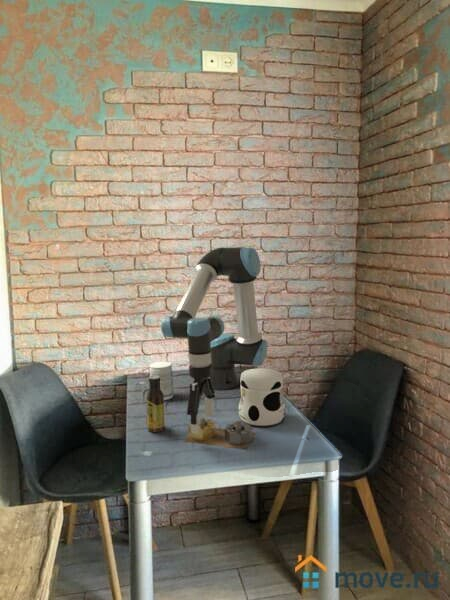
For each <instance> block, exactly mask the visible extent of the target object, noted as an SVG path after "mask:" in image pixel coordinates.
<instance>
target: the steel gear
mask: <svg viewBox="0 0 450 600" xmlns="http://www.w3.org/2000/svg"><path fill="white" fill-rule="evenodd" d="M241 427H242V431H236V426H235V422H234V423H230V424H227V425H226V427H224V430H225V441H226V442H227V443H228V444H230V445H236V446H242V445H246V444H250V442H251V441H252V442H253V440H254V438H253V436H252V433H253V426H251V425H248V424H246V423H245V422H241ZM252 439H253V440H252ZM252 442H251V443H252ZM250 445H251V444H250Z"/></svg>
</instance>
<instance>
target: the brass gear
mask: <svg viewBox="0 0 450 600" xmlns="http://www.w3.org/2000/svg"><path fill="white" fill-rule="evenodd" d="M187 429H188V436H189V437H190V438H191V439H192V440H198V441H205V440H209V439H213V437H214V436H215V435H216V429H217V428H216V422H215V421H213V420H212V419H211V418H210V419H209V418H205V426H203V427H201V426H199V433H191V422H189V423H188V428H187Z"/></svg>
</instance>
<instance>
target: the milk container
mask: <svg viewBox="0 0 450 600" xmlns="http://www.w3.org/2000/svg"><path fill="white" fill-rule="evenodd" d="M239 378H240V379H239V384H240V399H239V402H238V415H239V418H240V420H241V422H242V423H246V424H248V425H250V426H251V427H258V428H268V427H273V426H276V425H279V424H280V423H282V421H283V420H284V419H285V417H286V416H285V415H286V404H285V401H284V394H283V393H284V384H283V383H284V378H283V373H282V372H281V371H279V370H277V369H272V368H265V367H264V368H262V367H261V368H258V367H257V368H250V369H246V370H244V371H242V372H241V374H240V377H239Z"/></svg>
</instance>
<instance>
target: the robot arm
mask: <svg viewBox="0 0 450 600" xmlns="http://www.w3.org/2000/svg"><path fill="white" fill-rule="evenodd" d="M260 259H261V258H260V255H259V254H258V252H257V250H256V249H255V248H253V247H246V246H241V247H238V246H237V247H217V248H214V249H211V250H210V251H208V252H207V253H206V254H205V255H203V257H201V258H200V259H199V261H198V262H197V264H196V265H195V267H194V275H193V277H192V278H191V281H190V282H189V284H188V285H187V288H186V290H185V292H184V294H183V296H182V297H181V299H180V301H179V303H178V306H177V307H176V308H175V311H174V313H173V315H172V316H171V315H170V316H165V317H164V318H163V319H162V320H161V324H160V329H161V333H162V335H163V336H164V337H166V338H172V339H187V344H188V351H187V352H188V353H187V357H188V364H189V365H188V373H189V377H190V378H192V379H193V383H190V384H189V395H188V402H187V411H186V415H187V416H189V418H190V422H189V423H191V433H199V418H200V415H199V414H200V413H198V412H199V408H200V403H201V397H202V396H203V394H204V396H205V397H204V415H205V416H204V417H212V418H213V416H214V404H213V400H214V399H215V398H216V394H215V393H216V391H215V390H217V391H219V390H221V391H222V390H224V391H225V390H231V389H235V388H237V387H238V386H239V384H240V379H239V376H238V374H237V371H236V367H235V366H236V365H242V366H244V365H245V366H252V367H254V366H256V367H261V366H262V365H264V363H265V360H266V356H267V353H268V342H267V340H265V339H263V334H262V333H261V332H259V328H258V317H257V307H256V298H255V286H254V282H256V280H257V276H259V275H260V272H261V260H260ZM220 276H222V277H223V276H224V277H225V276H226V277H228V282H229V283H230V284H231V285H232V287H233V289H232V290H233V294H234V295H233V296H234V303H235V304H234V305H235V312H236V322H237V330H238V334H237V335H236V336H235V335H234V334H233V333H224V332H225V323H224V321H223V320H222V318H221V317H219V316H211V317H208V318H206V317H196V315H197V313H198V311H199V309H200V307H201V305H202V303H203V301H204V299H205V297H206V295H207V293H208V290H209V288H210V286H211V284H212V283H213V282H215V280H217V277H220Z"/></svg>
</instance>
